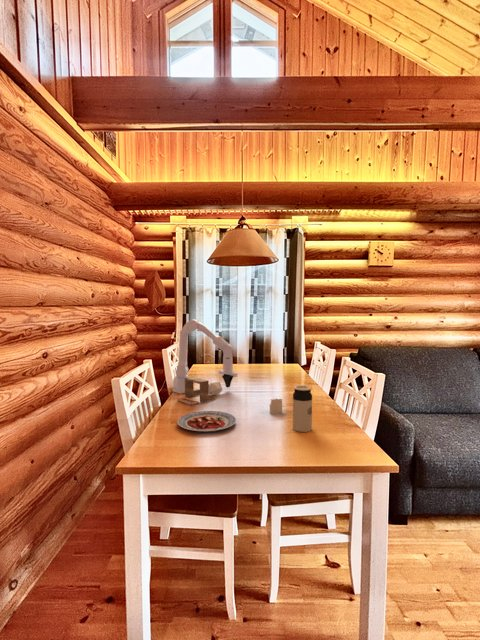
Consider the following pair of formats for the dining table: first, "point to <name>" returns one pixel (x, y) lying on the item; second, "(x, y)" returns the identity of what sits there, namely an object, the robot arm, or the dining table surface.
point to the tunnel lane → (203, 389)
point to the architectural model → (276, 406)
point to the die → (215, 388)
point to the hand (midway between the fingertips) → (227, 387)
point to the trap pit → (188, 401)
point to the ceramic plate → (206, 421)
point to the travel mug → (302, 408)
